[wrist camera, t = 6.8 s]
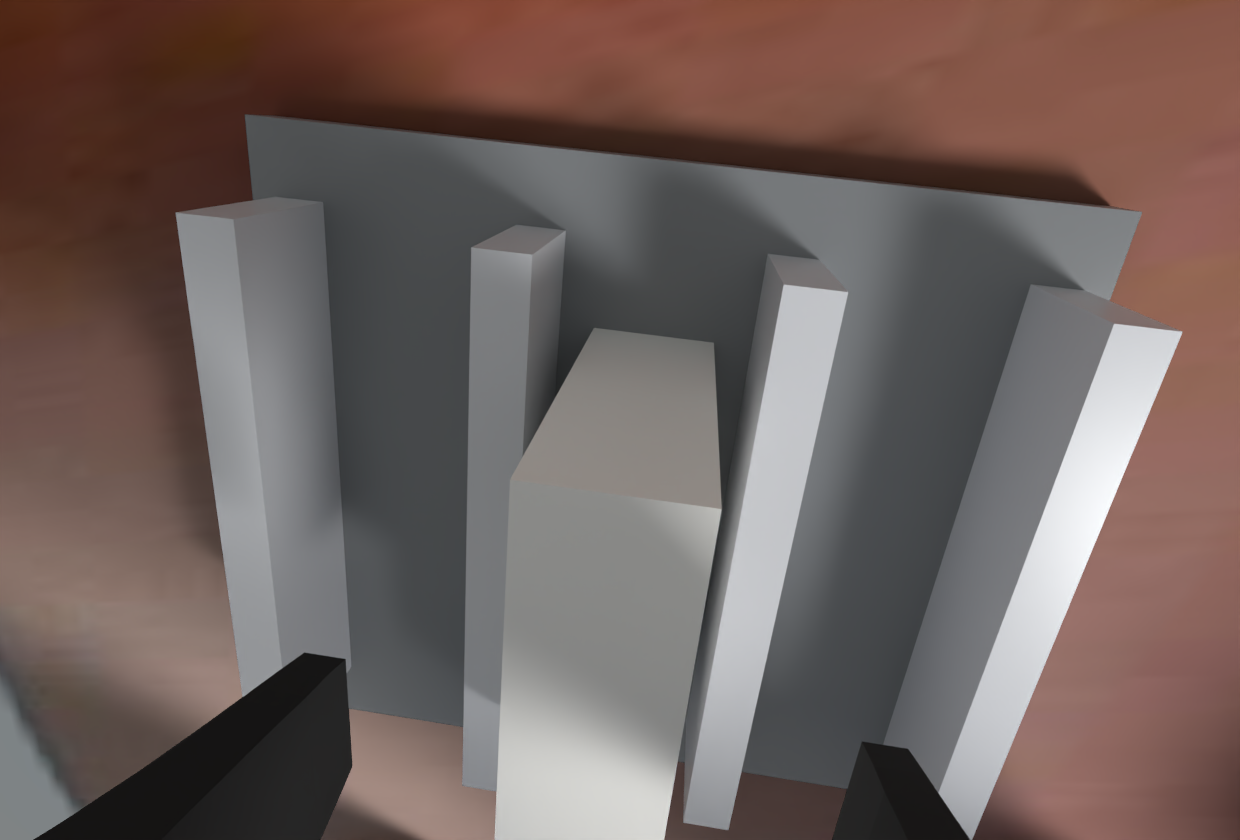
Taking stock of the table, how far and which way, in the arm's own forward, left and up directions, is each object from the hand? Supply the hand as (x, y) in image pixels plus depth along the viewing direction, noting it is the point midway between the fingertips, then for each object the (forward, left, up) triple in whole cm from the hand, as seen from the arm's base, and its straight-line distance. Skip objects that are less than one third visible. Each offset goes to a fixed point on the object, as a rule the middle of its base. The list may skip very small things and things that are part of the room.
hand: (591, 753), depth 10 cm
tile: (0, 0, -7) cm, 7 cm away
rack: (0, 0, -8) cm, 8 cm away
